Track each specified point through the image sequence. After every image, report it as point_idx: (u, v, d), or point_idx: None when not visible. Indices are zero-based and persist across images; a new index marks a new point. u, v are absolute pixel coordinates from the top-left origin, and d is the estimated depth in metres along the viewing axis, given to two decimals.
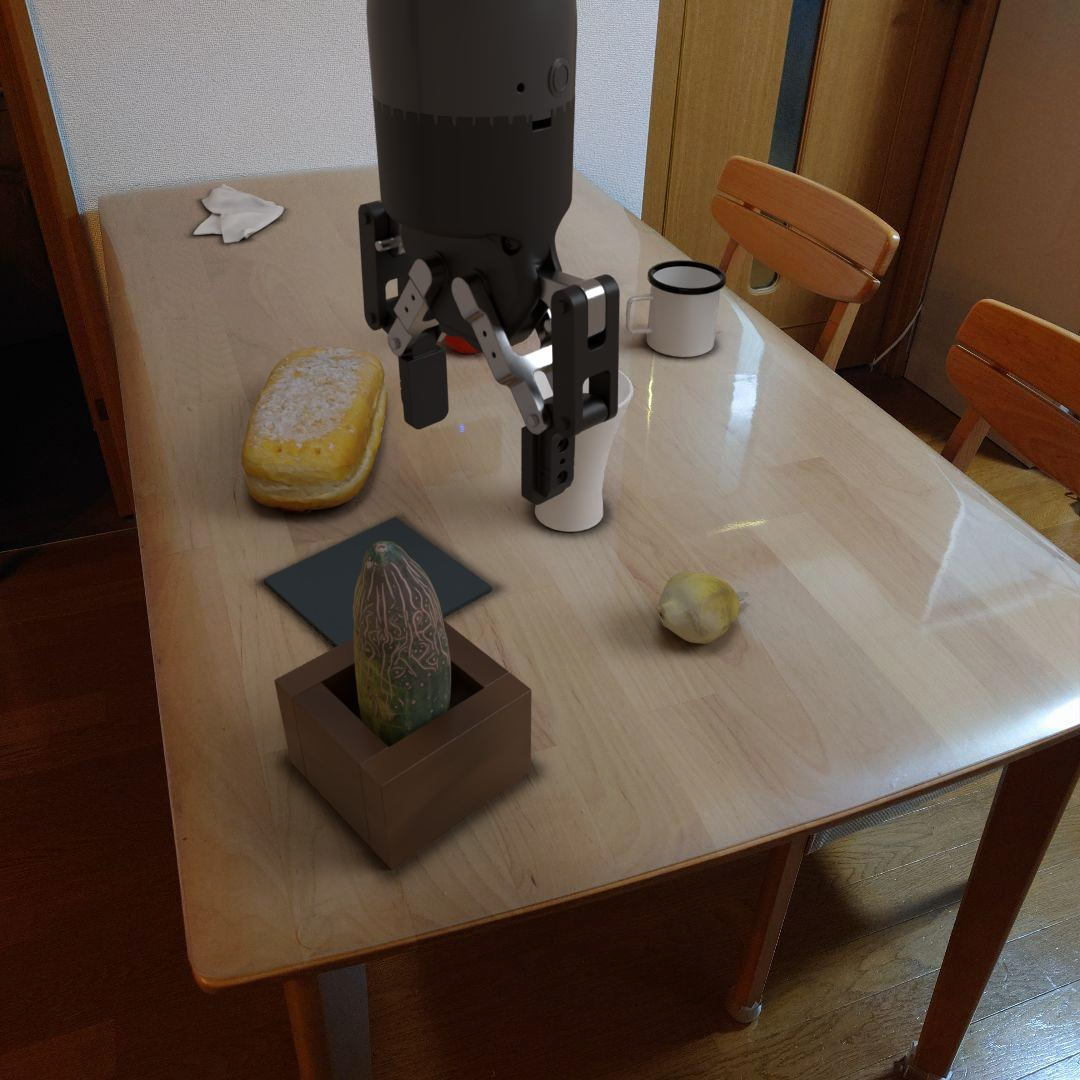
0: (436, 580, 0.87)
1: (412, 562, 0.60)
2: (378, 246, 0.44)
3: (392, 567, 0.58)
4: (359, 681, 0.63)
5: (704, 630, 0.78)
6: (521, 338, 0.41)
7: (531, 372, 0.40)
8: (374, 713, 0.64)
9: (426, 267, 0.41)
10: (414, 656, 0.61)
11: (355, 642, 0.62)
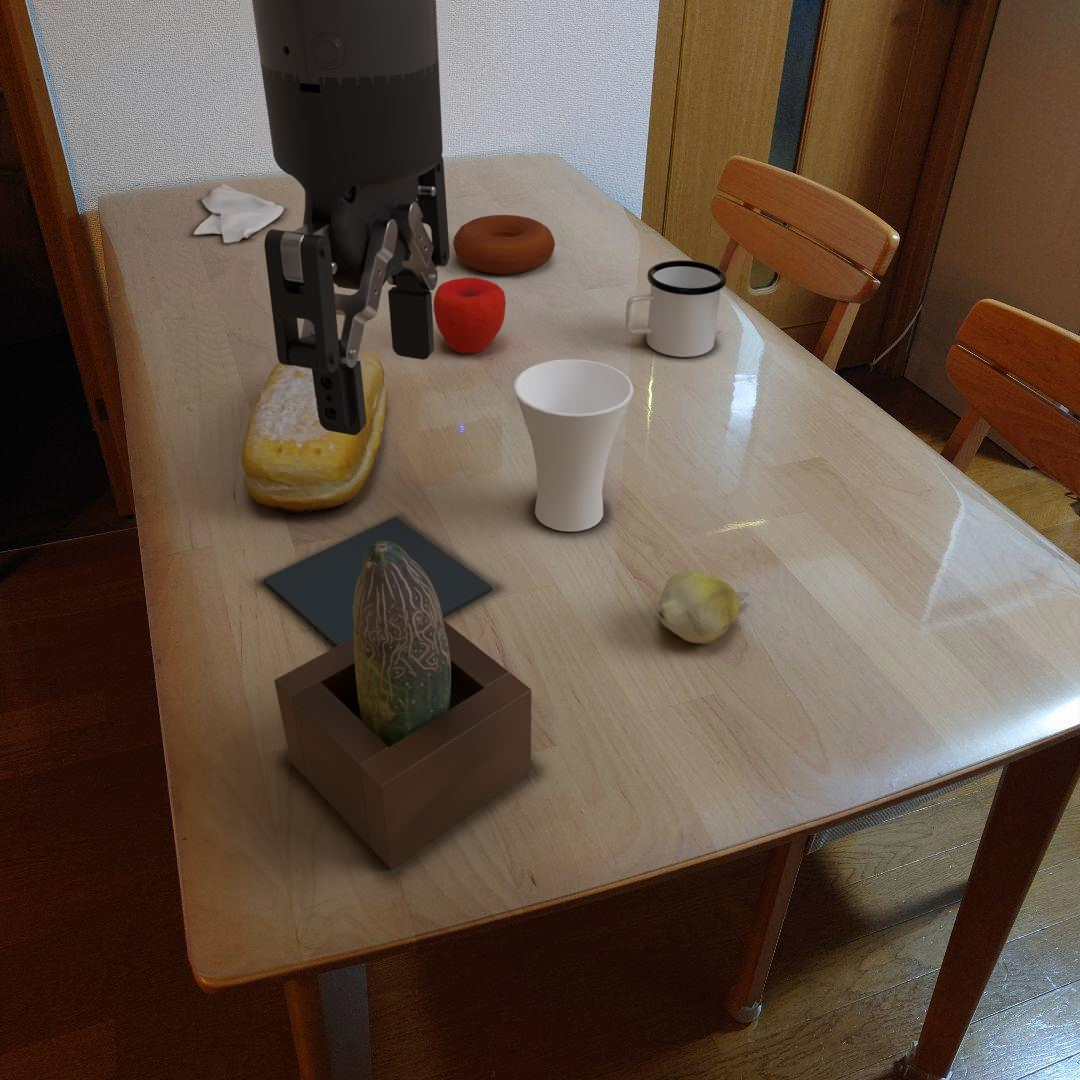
0: (436, 580, 0.87)
1: (412, 562, 0.60)
2: None
3: (392, 566, 0.58)
4: (359, 681, 0.63)
5: (704, 630, 0.78)
6: (348, 283, 0.46)
7: None
8: (374, 713, 0.64)
9: None
10: (414, 656, 0.61)
11: (355, 642, 0.62)
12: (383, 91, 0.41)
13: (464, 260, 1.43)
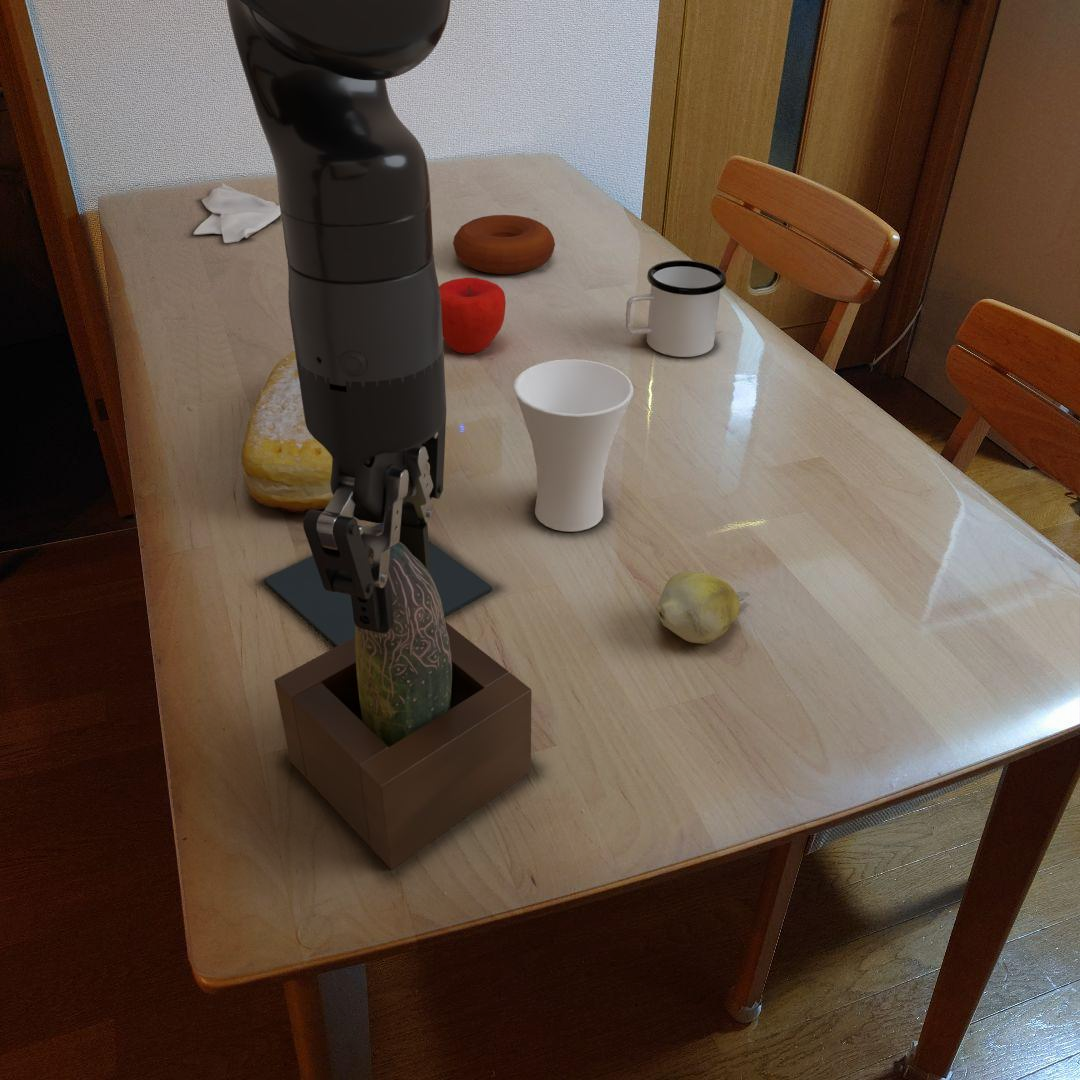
0: (436, 580, 0.87)
1: (414, 559, 0.60)
2: None
3: (394, 563, 0.58)
4: (360, 679, 0.63)
5: (704, 630, 0.78)
6: (367, 519, 0.55)
7: None
8: (375, 711, 0.64)
9: None
10: (415, 653, 0.61)
11: (357, 639, 0.62)
12: (398, 388, 0.49)
13: (464, 260, 1.43)
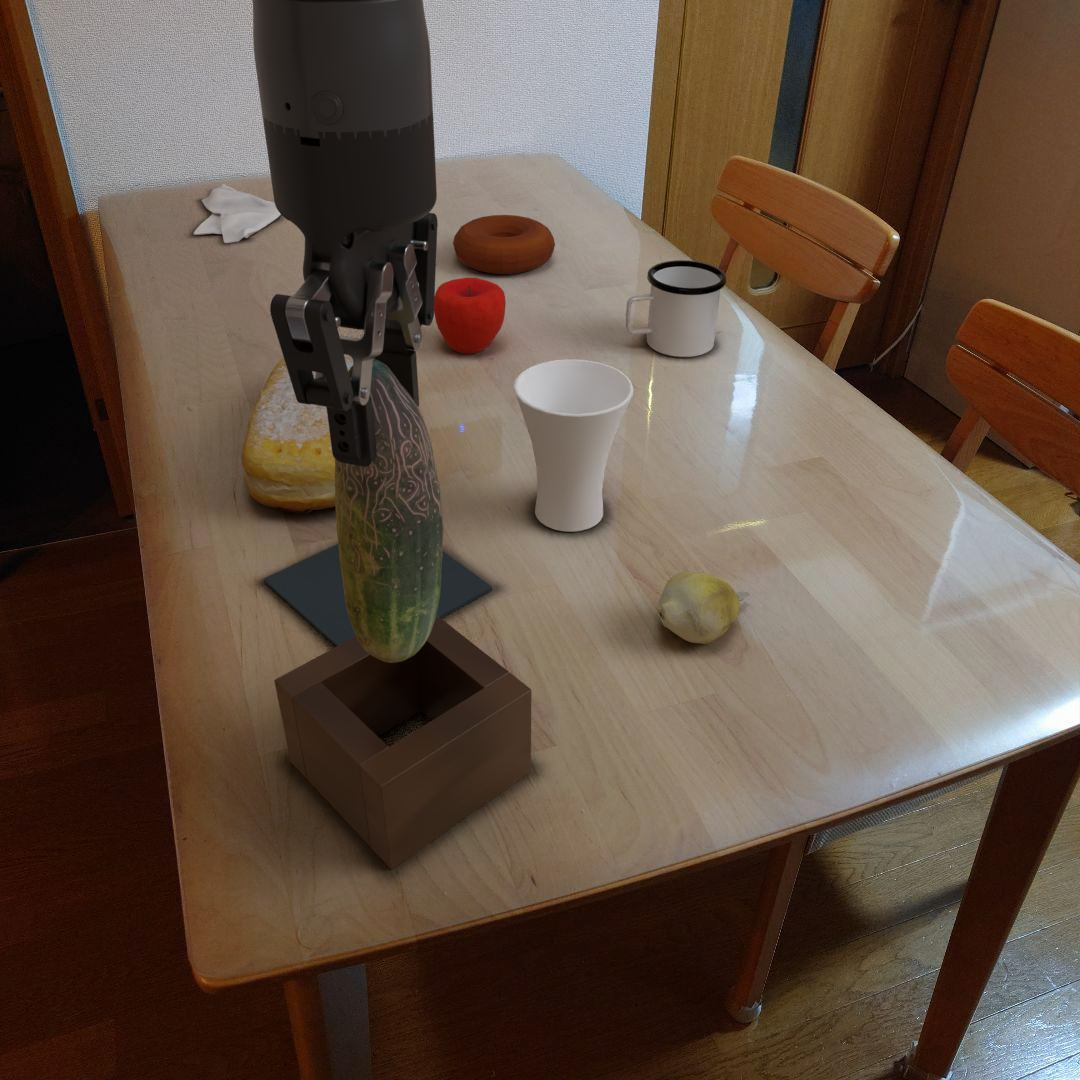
0: None
1: (401, 386, 0.53)
2: None
3: (378, 384, 0.51)
4: (340, 531, 0.57)
5: (704, 630, 0.78)
6: (345, 322, 0.48)
7: None
8: (357, 568, 0.57)
9: None
10: (402, 496, 0.54)
11: (336, 483, 0.55)
12: (380, 144, 0.43)
13: (464, 260, 1.43)
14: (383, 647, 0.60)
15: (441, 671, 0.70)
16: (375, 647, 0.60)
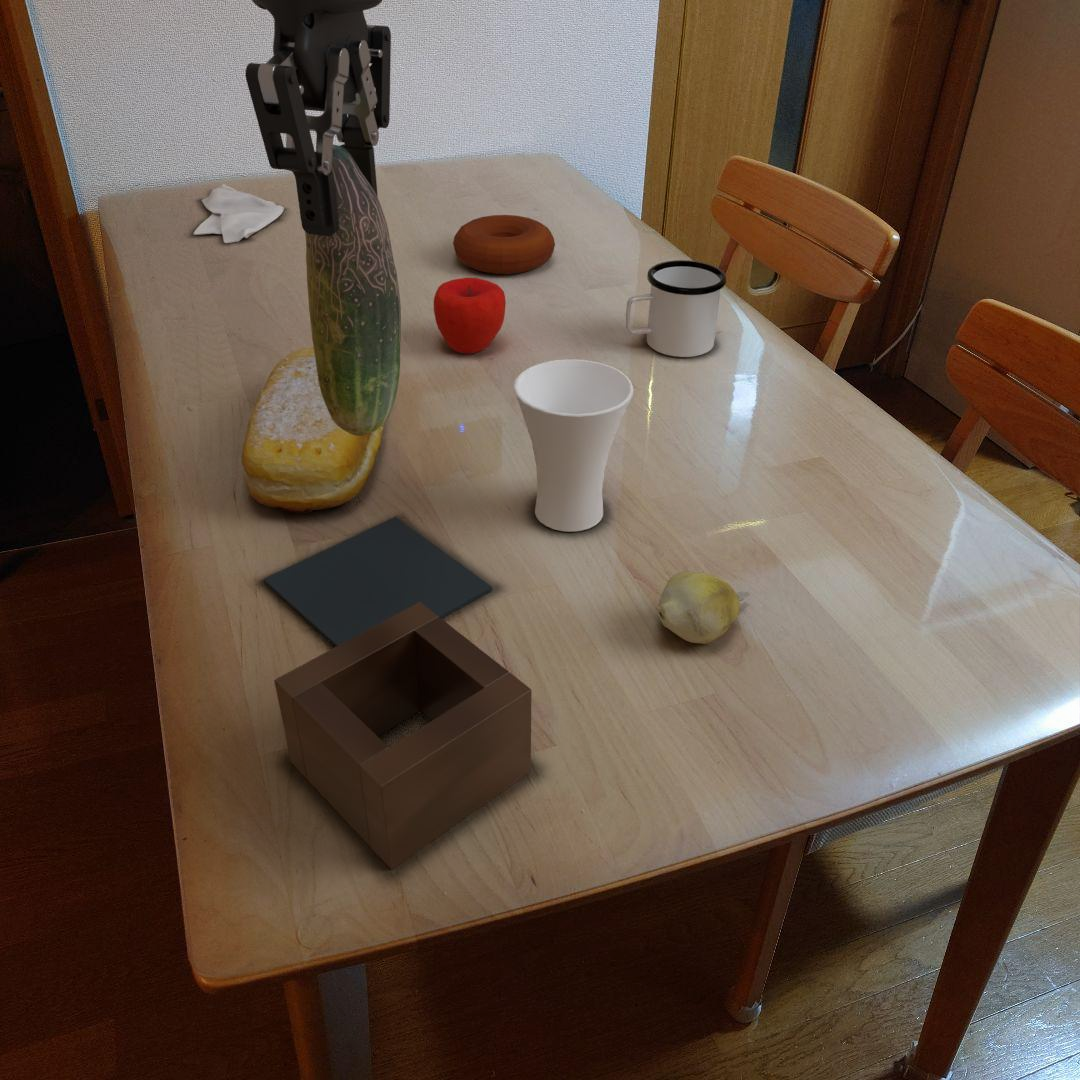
0: (436, 580, 0.87)
1: (360, 171, 0.63)
2: None
3: (339, 163, 0.61)
4: (311, 305, 0.67)
5: (704, 630, 0.78)
6: (310, 102, 0.58)
7: None
8: (325, 338, 0.67)
9: None
10: (362, 269, 0.64)
11: (307, 261, 0.65)
12: None
13: (464, 260, 1.43)
14: (350, 415, 0.70)
15: (441, 671, 0.70)
16: (343, 416, 0.70)
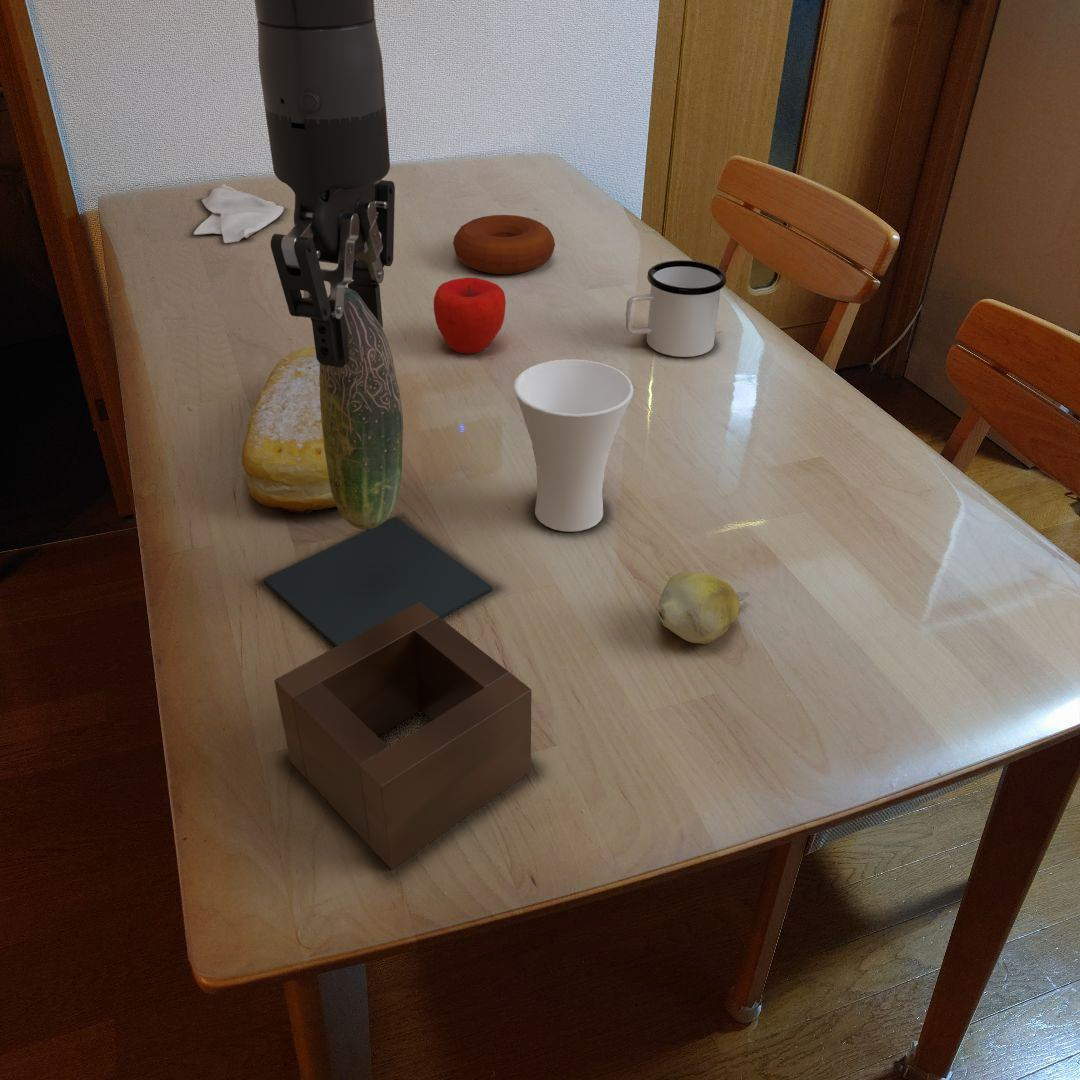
0: (436, 580, 0.87)
1: (367, 308, 0.72)
2: None
3: (350, 305, 0.70)
4: (324, 421, 0.75)
5: (704, 630, 0.78)
6: (325, 257, 0.67)
7: None
8: (336, 449, 0.76)
9: None
10: (369, 392, 0.73)
11: (320, 383, 0.74)
12: (347, 127, 0.61)
13: (464, 260, 1.43)
14: (357, 514, 0.78)
15: (441, 671, 0.70)
16: (351, 515, 0.79)
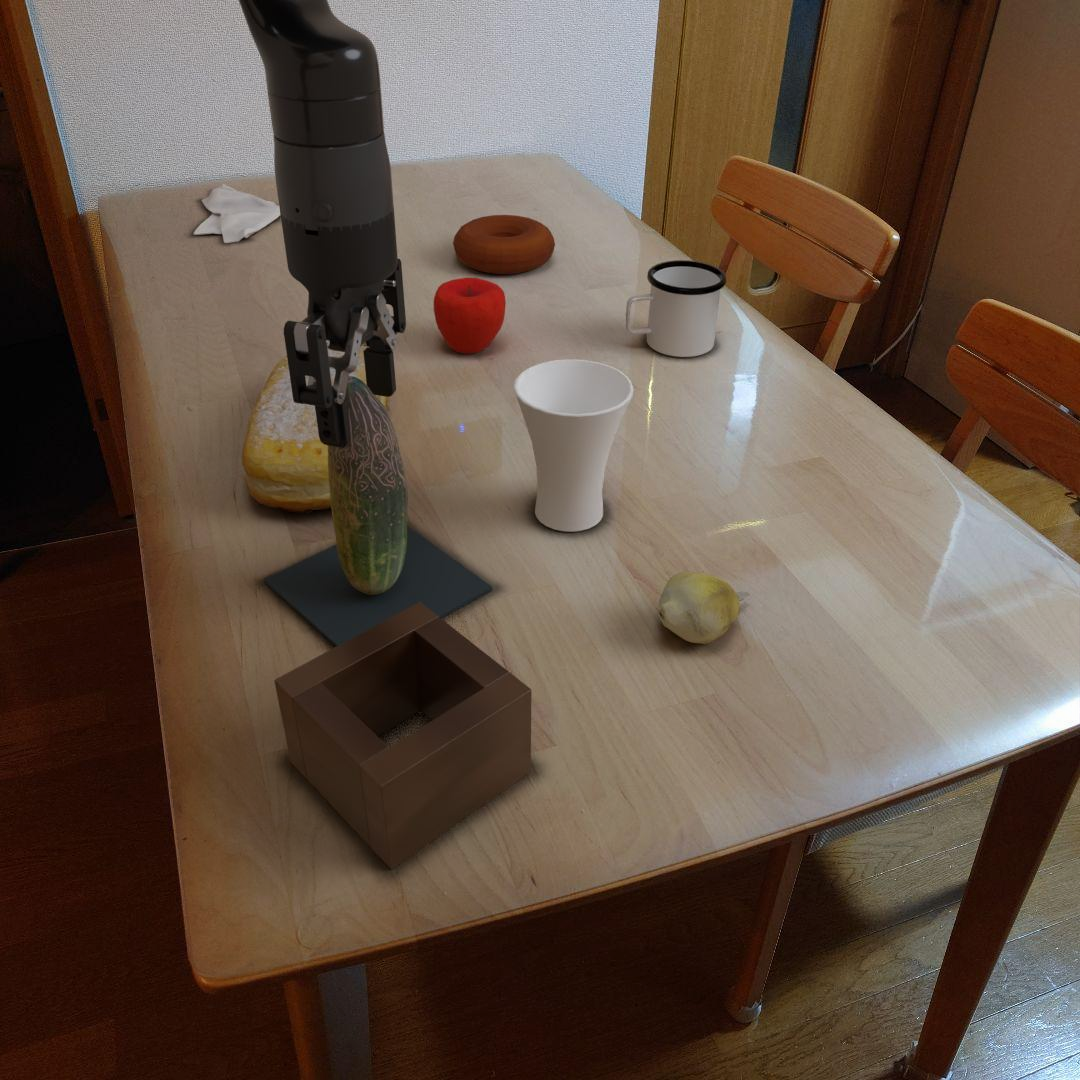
0: (436, 580, 0.87)
1: (373, 395, 0.75)
2: None
3: (356, 394, 0.74)
4: (332, 498, 0.79)
5: (704, 630, 0.78)
6: (336, 348, 0.71)
7: None
8: (344, 524, 0.79)
9: None
10: (375, 473, 0.77)
11: (329, 464, 0.78)
12: (357, 233, 0.65)
13: (464, 260, 1.43)
14: (365, 582, 0.82)
15: (441, 671, 0.70)
16: (359, 583, 0.83)
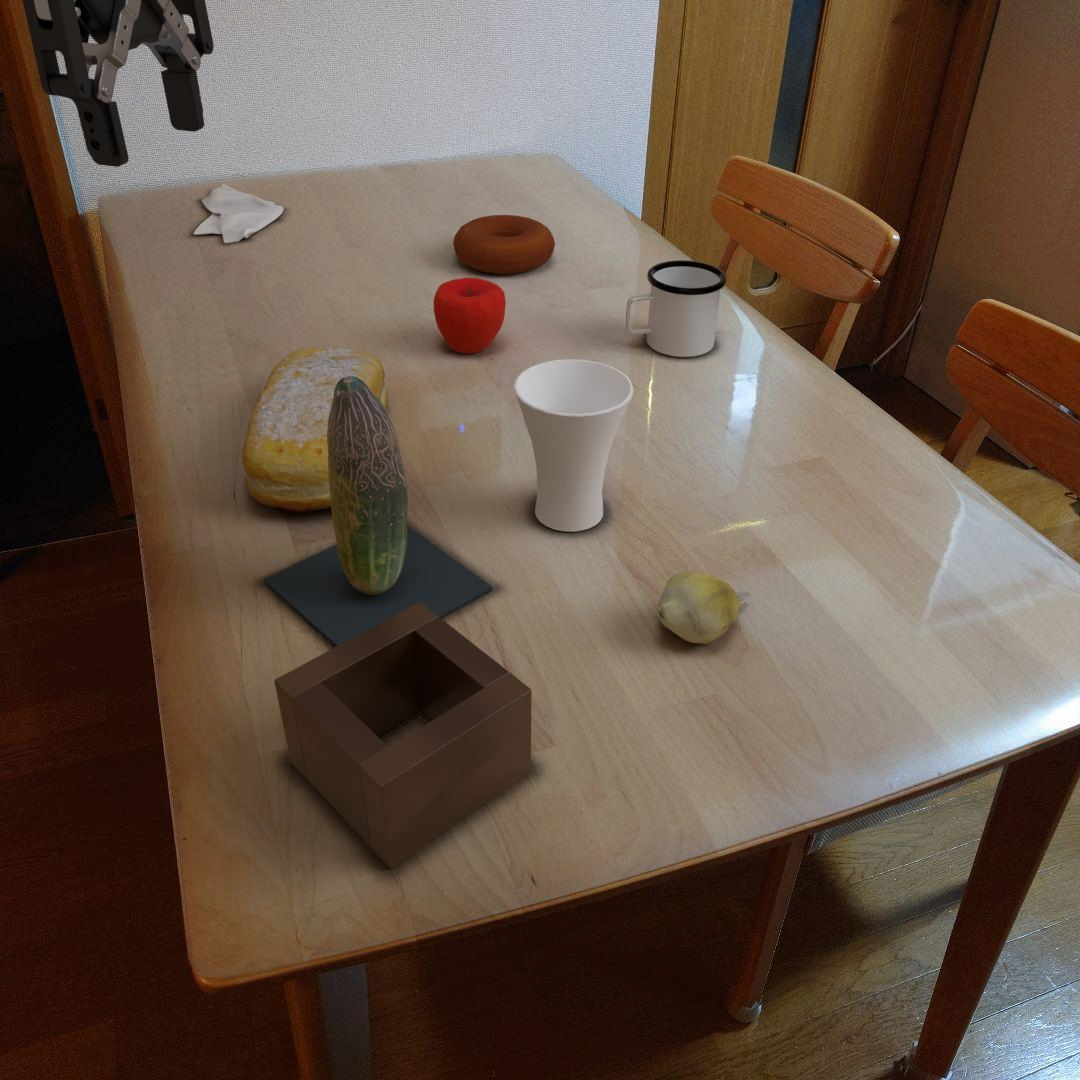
0: (436, 580, 0.87)
1: (373, 394, 0.75)
2: None
3: (356, 394, 0.74)
4: (332, 498, 0.79)
5: (704, 630, 0.78)
6: (104, 38, 0.60)
7: None
8: (344, 524, 0.79)
9: None
10: (375, 473, 0.77)
11: (329, 463, 0.78)
12: None
13: (464, 260, 1.43)
14: (365, 582, 0.82)
15: (441, 671, 0.70)
16: (359, 583, 0.83)
